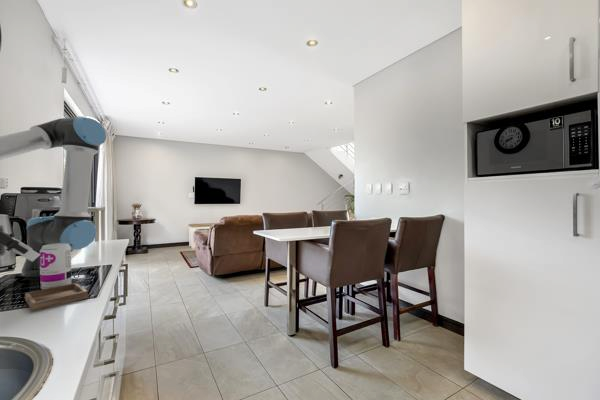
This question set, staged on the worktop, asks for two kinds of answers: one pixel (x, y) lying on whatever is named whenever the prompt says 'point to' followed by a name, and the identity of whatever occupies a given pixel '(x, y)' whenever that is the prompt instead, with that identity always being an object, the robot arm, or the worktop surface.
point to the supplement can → (55, 265)
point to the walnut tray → (55, 296)
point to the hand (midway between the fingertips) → (32, 254)
